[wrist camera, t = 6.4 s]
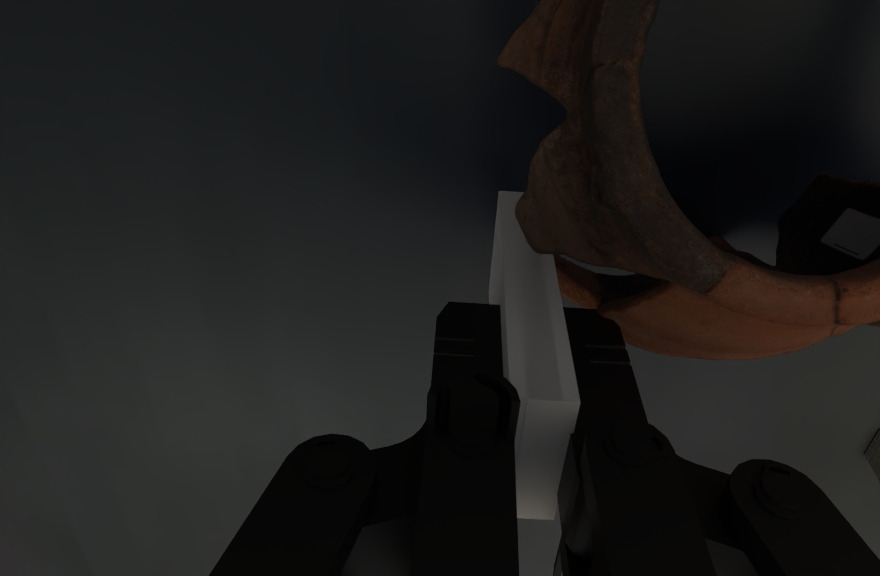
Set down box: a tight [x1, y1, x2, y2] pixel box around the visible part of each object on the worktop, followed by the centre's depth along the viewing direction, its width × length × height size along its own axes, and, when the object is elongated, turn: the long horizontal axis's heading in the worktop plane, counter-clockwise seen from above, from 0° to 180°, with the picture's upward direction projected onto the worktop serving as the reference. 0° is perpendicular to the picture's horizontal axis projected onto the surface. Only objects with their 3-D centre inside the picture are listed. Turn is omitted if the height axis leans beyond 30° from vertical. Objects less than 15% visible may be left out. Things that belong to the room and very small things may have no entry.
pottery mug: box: [497, 0, 880, 360], centre depth 13 cm, size 12×9×8 cm
